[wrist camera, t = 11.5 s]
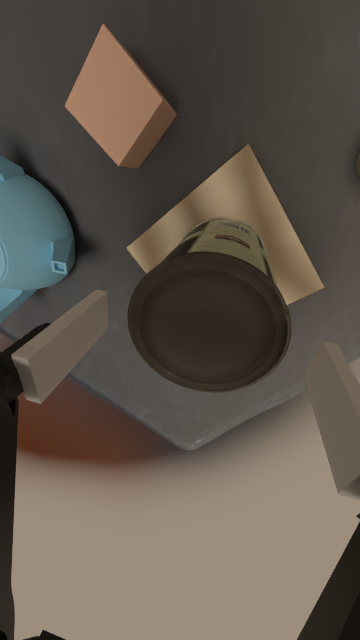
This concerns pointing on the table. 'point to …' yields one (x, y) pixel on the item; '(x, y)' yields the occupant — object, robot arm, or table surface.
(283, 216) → the birch board
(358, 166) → the off-white cylinder
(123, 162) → the terracotta block
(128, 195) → the table surface
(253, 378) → the coffee can
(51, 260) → the teapot
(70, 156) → the table surface
